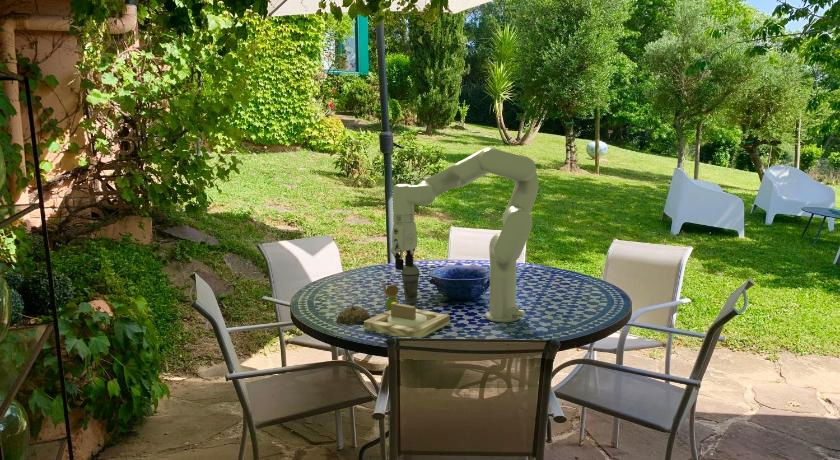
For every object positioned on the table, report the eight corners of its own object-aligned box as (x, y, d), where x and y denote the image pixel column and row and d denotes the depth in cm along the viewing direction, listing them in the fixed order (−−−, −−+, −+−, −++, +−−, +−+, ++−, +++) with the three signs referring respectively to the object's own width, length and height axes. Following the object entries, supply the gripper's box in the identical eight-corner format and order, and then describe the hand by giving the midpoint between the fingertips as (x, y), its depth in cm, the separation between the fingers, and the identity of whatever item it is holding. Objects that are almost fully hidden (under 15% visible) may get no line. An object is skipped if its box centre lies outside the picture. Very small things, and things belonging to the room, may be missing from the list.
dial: (434, 320, 235) (434, 303, 234) (412, 331, 223) (412, 313, 222) (402, 314, 242) (402, 297, 241) (379, 324, 231) (379, 307, 230)
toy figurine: (383, 308, 254) (382, 278, 252) (399, 308, 254) (399, 278, 252) (381, 313, 249) (381, 282, 247) (398, 313, 249) (398, 282, 247)
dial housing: (449, 323, 236) (449, 314, 235) (415, 340, 218) (415, 331, 217) (400, 313, 248) (399, 305, 247) (363, 329, 230) (363, 320, 229)
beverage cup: (417, 304, 260) (417, 254, 257) (400, 303, 262) (399, 254, 258) (421, 299, 267) (421, 251, 264) (404, 298, 269) (403, 250, 265)
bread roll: (370, 324, 237) (370, 311, 236) (335, 325, 236) (335, 312, 235) (370, 313, 249) (369, 301, 248) (337, 314, 248) (337, 302, 248)
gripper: (398, 222, 226) (399, 274, 229) (425, 216, 240) (425, 264, 243) (380, 221, 230) (382, 271, 233) (408, 214, 244) (409, 262, 247)
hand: (404, 267), depth 238 cm, fingers open, 5 cm apart
